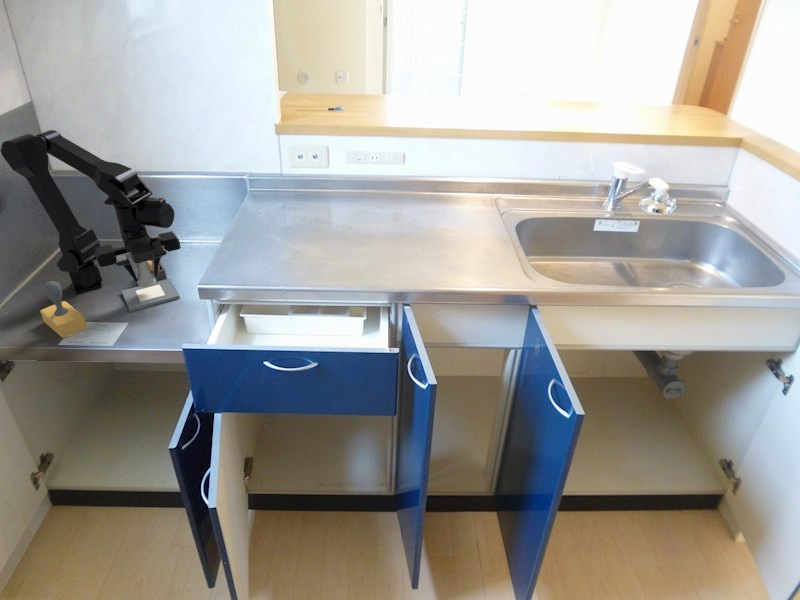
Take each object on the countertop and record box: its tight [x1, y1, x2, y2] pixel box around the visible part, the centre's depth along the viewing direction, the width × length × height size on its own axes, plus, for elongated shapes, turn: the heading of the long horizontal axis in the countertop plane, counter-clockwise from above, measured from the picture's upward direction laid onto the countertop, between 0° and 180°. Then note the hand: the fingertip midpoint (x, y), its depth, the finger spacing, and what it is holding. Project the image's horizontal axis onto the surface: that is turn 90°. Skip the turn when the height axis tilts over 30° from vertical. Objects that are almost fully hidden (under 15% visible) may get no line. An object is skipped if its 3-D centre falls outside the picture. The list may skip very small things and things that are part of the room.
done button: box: [147, 261, 160, 272], centre depth 151 cm, size 4×4×2 cm
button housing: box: [151, 261, 168, 282], centre depth 152 cm, size 5×5×3 cm
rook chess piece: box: [136, 261, 156, 288], centre depth 141 cm, size 4×4×8 cm
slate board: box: [121, 278, 181, 313], centre depth 145 cm, size 12×10×1 cm
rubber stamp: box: [39, 280, 88, 339], centre depth 130 cm, size 10×6×12 cm, turn 50°
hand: (145, 278), depth 142 cm, fingers closed on rook chess piece, 4 cm apart
